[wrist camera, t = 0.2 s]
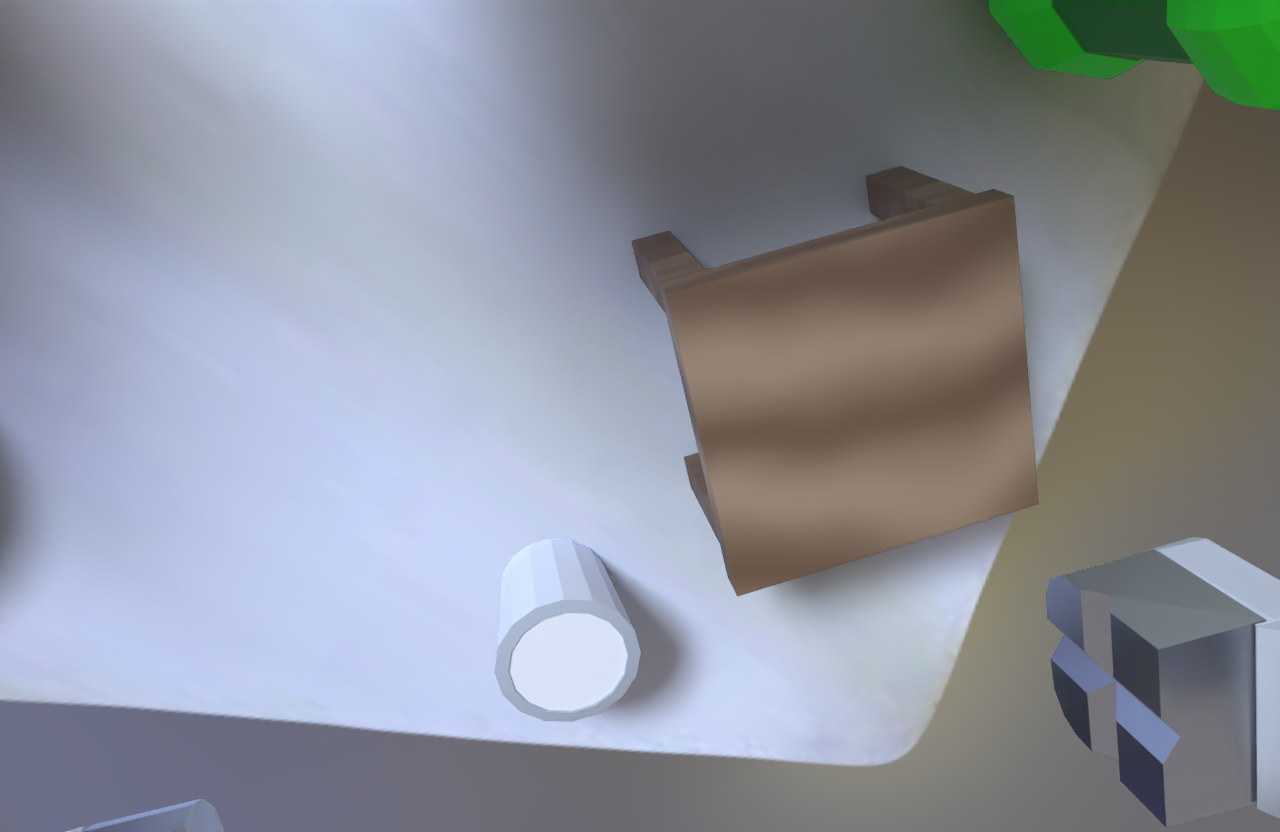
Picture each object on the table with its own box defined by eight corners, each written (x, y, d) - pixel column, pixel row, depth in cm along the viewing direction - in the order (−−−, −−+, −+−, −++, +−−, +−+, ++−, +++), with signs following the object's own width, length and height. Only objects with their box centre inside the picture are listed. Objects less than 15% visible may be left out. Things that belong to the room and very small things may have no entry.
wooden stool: (624, 236, 48) (667, 294, 39) (906, 158, 49) (1013, 196, 40) (686, 493, 53) (737, 596, 44) (938, 418, 54) (1038, 504, 45)
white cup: (615, 520, 53) (639, 591, 47) (620, 631, 56) (643, 713, 50) (482, 535, 52) (487, 610, 46) (494, 647, 55) (501, 733, 49)
